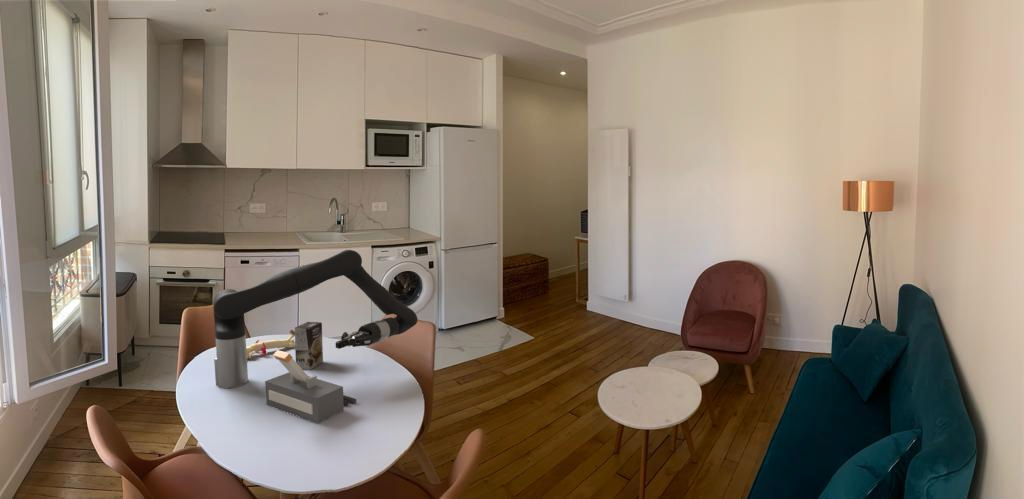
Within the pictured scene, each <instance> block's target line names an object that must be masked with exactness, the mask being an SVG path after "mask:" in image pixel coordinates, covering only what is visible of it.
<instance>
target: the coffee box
mask: <svg viewBox="0 0 1024 499" xmlns="http://www.w3.org/2000/svg"><path fill="white" fill-rule="evenodd" d="M294 331H295V336H294V342H295V346H294V350H295V352H294V353H295V362H296V363H297V364H298V365H299V366H300V367H301V369H302V370H312V369H313V368H315V367H316V366H319V365H320V364H321V363H323V362H324V353H323V351H324V350H323V349H324V348H323V346H324V345H323V323H322V322H321V321H320V322H318V321H306V322H305V323H301V324H300V325H298V326H296V327H294Z"/></svg>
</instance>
